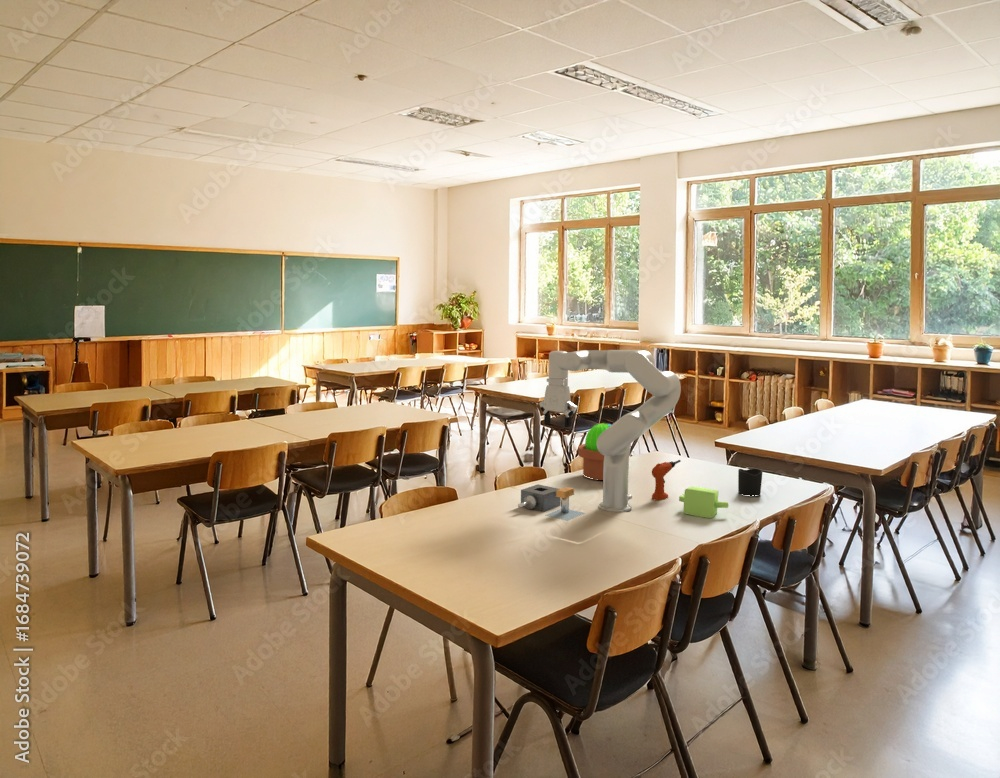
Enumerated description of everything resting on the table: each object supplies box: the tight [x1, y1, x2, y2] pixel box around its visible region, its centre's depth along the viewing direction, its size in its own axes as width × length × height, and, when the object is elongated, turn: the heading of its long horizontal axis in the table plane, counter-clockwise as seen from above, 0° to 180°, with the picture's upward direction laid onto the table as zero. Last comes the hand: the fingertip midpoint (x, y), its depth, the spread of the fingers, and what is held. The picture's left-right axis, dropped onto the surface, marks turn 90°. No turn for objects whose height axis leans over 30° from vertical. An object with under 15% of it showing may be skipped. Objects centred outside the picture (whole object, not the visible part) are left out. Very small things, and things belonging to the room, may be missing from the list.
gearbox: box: [678, 486, 729, 519], centre depth 278 cm, size 18×10×10 cm, turn 58°
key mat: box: [545, 508, 586, 521], centre depth 275 cm, size 12×10×1 cm
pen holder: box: [737, 468, 763, 496], centre depth 305 cm, size 9×9×10 cm
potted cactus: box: [577, 422, 612, 480], centre depth 332 cm, size 22×22×25 cm
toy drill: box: [651, 459, 682, 501], centre depth 302 cm, size 5×19×15 cm, turn 132°
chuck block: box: [517, 483, 561, 513], centre depth 282 cm, size 19×11×7 cm, turn 141°
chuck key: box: [556, 486, 575, 513], centre depth 277 cm, size 6×4×9 cm, turn 142°
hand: (557, 425), depth 292 cm, fingers open, 9 cm apart
